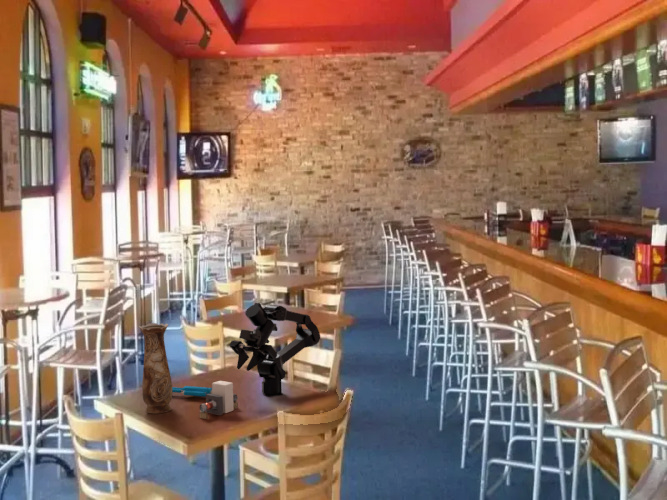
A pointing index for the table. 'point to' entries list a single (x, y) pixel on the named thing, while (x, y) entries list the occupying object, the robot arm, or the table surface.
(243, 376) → the table surface
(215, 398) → the gray square plate
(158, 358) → the vase
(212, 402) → the metal cylinder
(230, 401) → the white block
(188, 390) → the toy
